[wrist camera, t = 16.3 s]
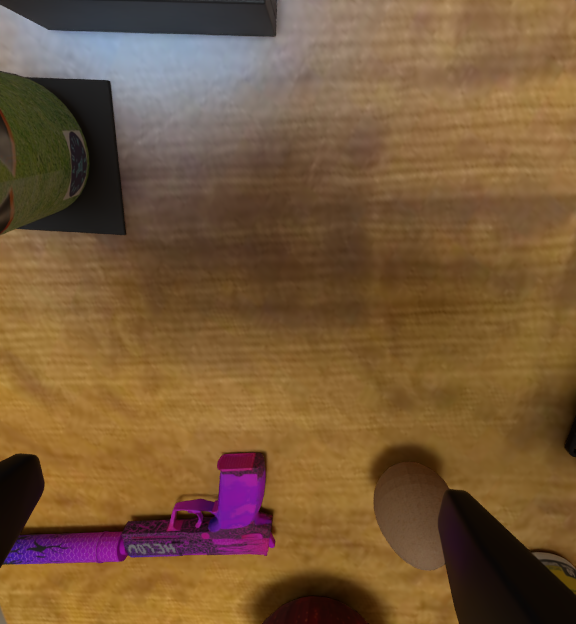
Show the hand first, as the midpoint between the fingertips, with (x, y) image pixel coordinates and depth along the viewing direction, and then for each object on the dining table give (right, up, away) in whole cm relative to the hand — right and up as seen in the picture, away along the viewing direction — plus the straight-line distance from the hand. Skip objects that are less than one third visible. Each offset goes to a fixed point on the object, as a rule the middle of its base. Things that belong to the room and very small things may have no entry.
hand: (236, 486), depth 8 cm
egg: (+8, -6, +16) cm, 19 cm away
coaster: (-11, +11, +11) cm, 19 cm away
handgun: (-7, -3, +15) cm, 17 cm away
